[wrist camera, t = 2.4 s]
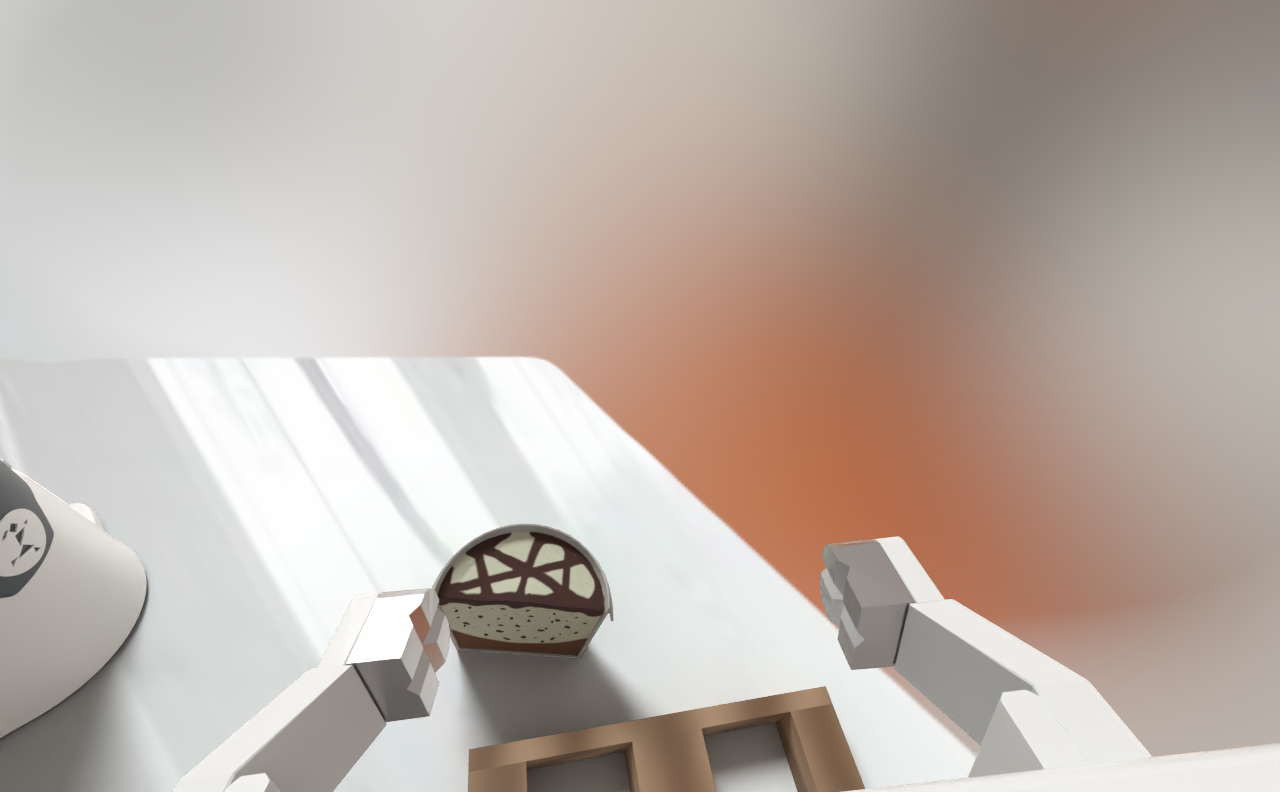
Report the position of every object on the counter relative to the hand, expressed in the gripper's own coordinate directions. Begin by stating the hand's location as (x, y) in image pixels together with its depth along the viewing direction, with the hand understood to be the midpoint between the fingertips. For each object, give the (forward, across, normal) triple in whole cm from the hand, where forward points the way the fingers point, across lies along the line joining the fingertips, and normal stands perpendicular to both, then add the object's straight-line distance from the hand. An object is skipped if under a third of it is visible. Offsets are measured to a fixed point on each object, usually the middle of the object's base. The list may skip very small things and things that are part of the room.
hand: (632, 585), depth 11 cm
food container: (+22, +10, +27) cm, 36 cm away
